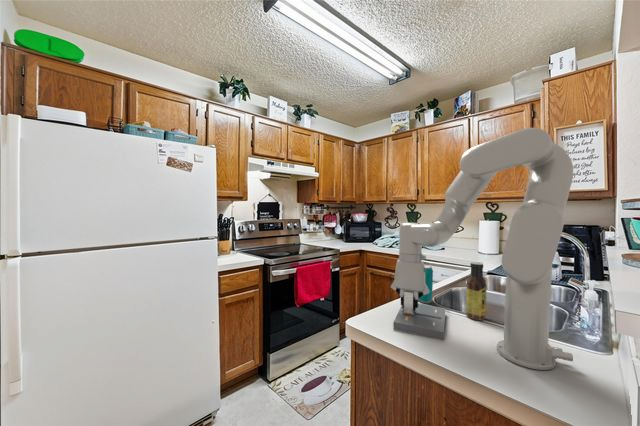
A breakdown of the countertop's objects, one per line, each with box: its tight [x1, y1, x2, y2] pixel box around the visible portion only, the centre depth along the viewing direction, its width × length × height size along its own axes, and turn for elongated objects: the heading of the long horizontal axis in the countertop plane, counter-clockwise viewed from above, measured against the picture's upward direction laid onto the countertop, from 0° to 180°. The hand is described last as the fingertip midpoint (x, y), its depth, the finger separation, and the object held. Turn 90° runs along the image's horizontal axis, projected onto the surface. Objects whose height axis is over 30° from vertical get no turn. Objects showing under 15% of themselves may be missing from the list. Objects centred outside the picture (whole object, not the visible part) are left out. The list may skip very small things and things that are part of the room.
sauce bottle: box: [465, 261, 487, 321], centre depth 95 cm, size 7×6×20 cm
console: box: [393, 303, 446, 341], centre depth 92 cm, size 15×20×3 cm
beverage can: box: [418, 264, 434, 304], centre depth 110 cm, size 6×6×15 cm
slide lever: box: [402, 289, 416, 315], centre depth 93 cm, size 4×5×8 cm
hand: (409, 307), depth 93 cm, fingers closed on slide lever, 3 cm apart
